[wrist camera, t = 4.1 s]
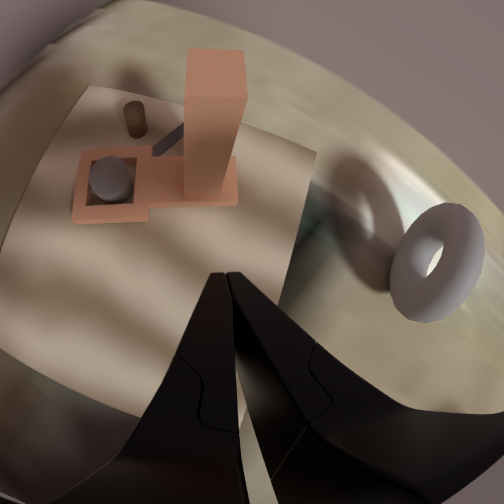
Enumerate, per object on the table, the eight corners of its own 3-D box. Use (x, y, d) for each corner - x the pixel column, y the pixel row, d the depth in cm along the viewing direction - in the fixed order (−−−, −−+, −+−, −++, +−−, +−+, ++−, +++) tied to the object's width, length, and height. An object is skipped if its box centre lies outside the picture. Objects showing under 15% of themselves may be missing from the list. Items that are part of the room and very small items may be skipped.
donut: (395, 216, 26) (470, 175, 17) (420, 232, 27) (495, 200, 17) (367, 316, 24) (456, 310, 14) (396, 329, 24) (483, 327, 14)
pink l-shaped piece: (76, 224, 19) (-6, 145, 8) (85, 156, 20) (33, 53, 9) (236, 219, 21) (284, 127, 10) (233, 151, 22) (269, 38, 12)
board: (232, 437, 20) (241, 460, 16) (-13, 333, 17) (-42, 334, 13) (311, 158, 26) (331, 134, 22) (92, 92, 23) (83, 63, 19)
